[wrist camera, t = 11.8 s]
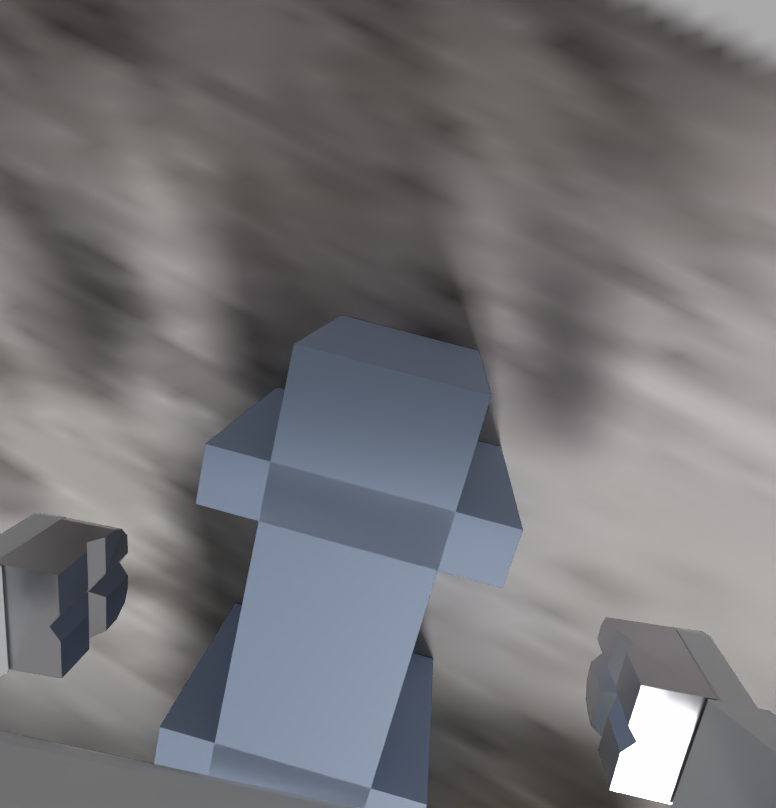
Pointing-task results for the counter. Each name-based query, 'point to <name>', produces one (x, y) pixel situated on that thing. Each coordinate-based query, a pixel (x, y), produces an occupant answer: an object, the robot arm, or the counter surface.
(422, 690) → the crook
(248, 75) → the counter surface
